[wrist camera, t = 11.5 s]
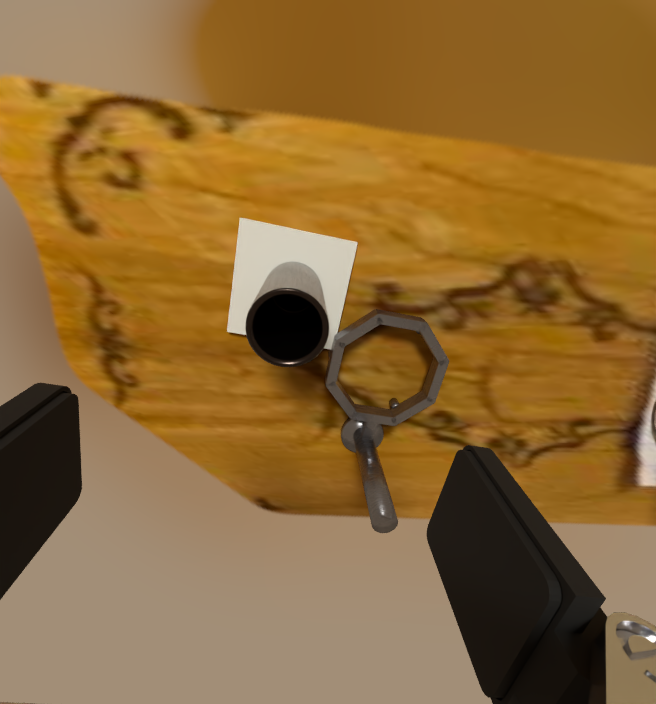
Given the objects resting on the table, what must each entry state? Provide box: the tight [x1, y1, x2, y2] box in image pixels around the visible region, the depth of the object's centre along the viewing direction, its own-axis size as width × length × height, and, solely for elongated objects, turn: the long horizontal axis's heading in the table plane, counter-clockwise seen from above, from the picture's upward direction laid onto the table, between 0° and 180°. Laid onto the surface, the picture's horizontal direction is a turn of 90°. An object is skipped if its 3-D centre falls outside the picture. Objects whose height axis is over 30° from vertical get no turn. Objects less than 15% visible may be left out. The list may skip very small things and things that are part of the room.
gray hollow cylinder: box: [245, 262, 329, 367], centre depth 25 cm, size 4×4×10 cm
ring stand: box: [325, 309, 449, 533], centre depth 28 cm, size 10×14×11 cm
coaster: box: [227, 218, 358, 349], centre depth 30 cm, size 9×9×1 cm
